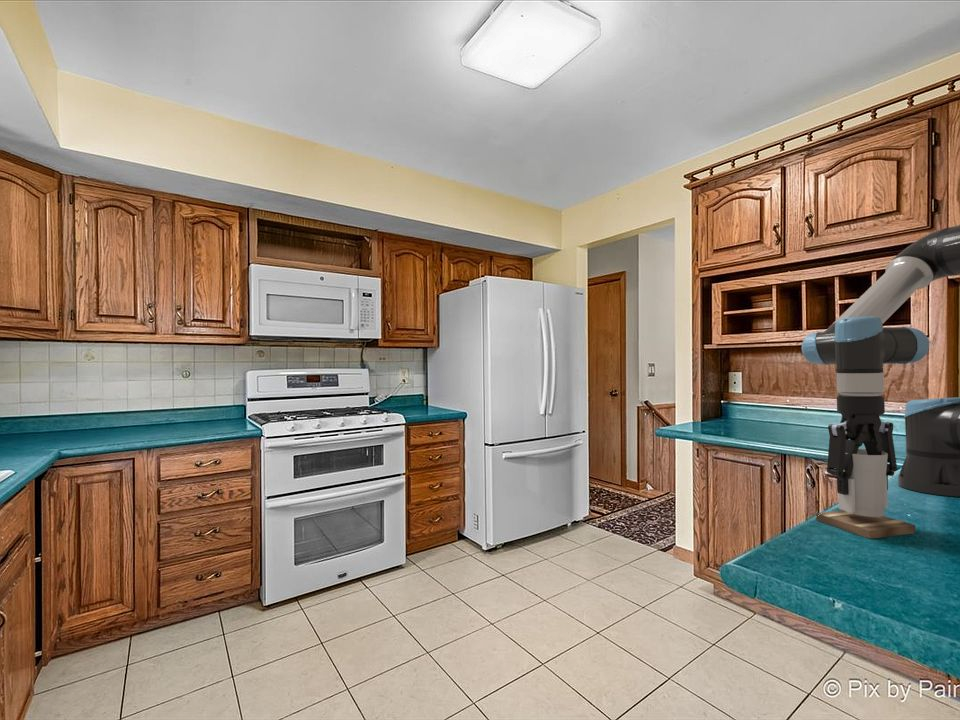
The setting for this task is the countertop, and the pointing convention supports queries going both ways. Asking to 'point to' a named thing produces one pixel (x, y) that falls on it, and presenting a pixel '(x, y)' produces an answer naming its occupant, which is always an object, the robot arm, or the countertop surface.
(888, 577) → the countertop surface
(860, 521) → the striped wooden coaster
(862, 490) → the cup
